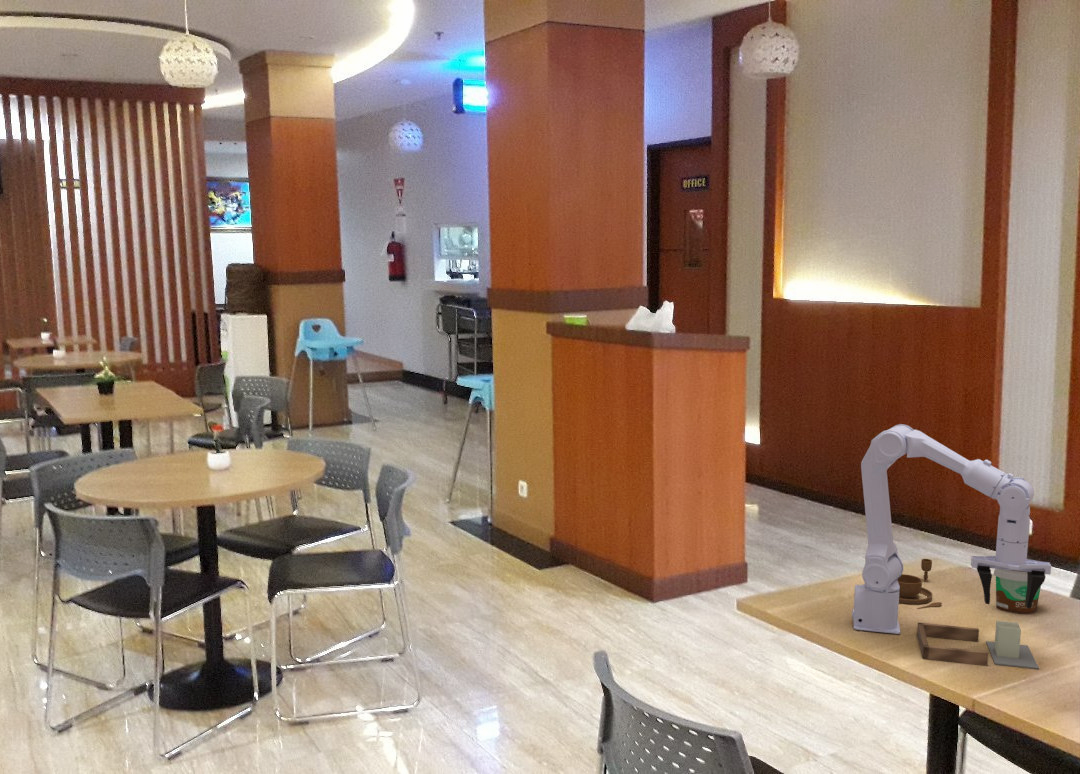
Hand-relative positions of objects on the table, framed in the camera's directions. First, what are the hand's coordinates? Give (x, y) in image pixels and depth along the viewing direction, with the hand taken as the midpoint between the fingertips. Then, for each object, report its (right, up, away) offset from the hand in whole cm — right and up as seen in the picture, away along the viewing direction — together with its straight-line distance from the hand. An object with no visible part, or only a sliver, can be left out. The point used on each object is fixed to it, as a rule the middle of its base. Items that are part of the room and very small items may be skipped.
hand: (1007, 604), depth 207 cm
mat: (+1, -10, 0) cm, 10 cm away
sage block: (0, -10, +1) cm, 10 cm away
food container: (+16, -7, +26) cm, 31 cm away
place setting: (-4, -6, +37) cm, 38 cm away
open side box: (-10, -10, +3) cm, 14 cm away
